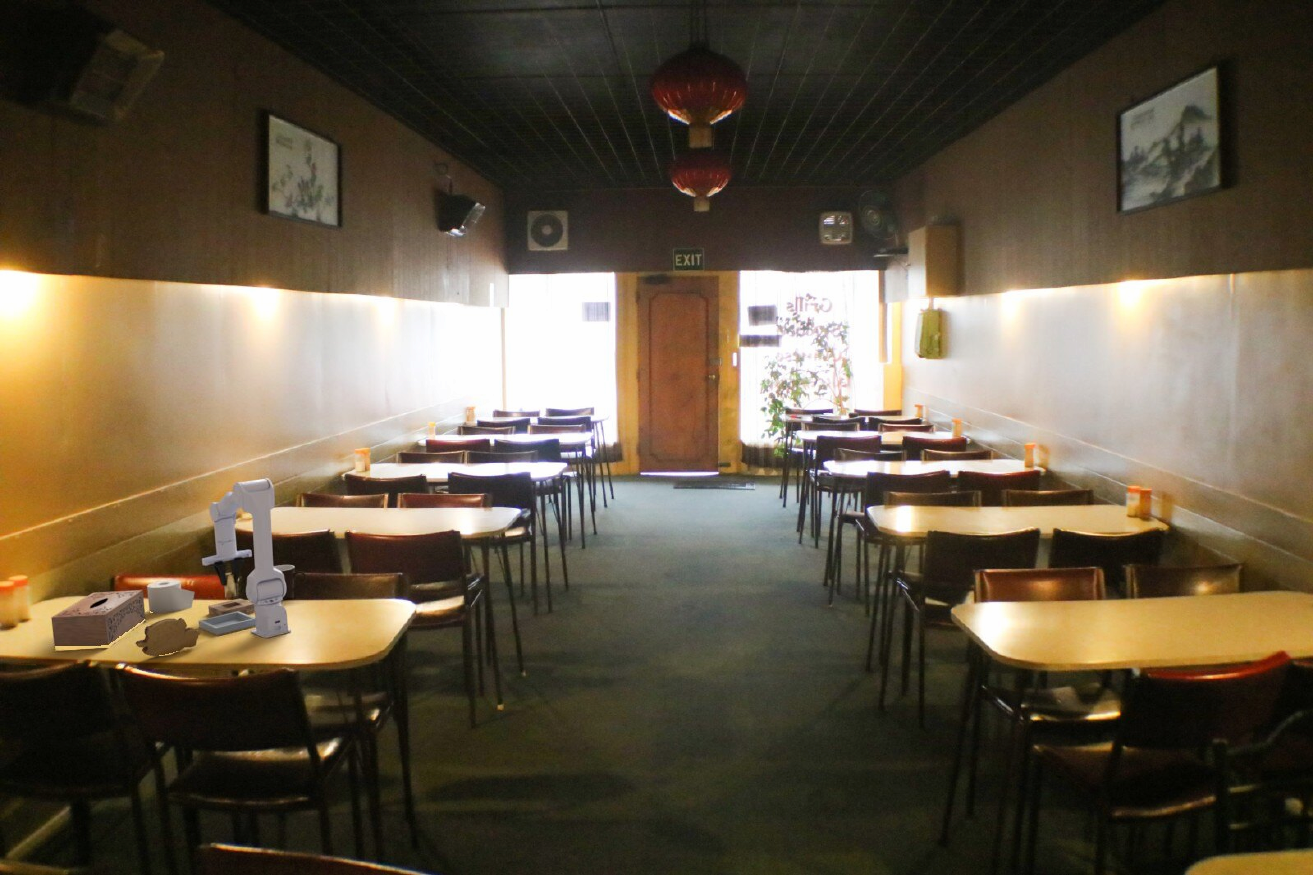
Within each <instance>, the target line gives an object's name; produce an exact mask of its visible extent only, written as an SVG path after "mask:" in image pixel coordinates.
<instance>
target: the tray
mask: <svg viewBox="0 0 1313 875" xmlns="http://www.w3.org/2000/svg"><path fill="white" fill-rule="evenodd" d="M252 627H256V622H255V616H252V615H249V614H244V613H242V612H239V611H237V612H233V613H229V614H225V615H220V616H216V617H215V616H213V617H208V618H204V619H200V620H198V628H199V629H201V630H203V631H205V632H208V633H210V634H213V635H214V636H219V637H221V636H225V635H230V634H229V633H231V634H233V632H235V633H237V632H241V631H246V630H250V629H249V628H252Z"/></svg>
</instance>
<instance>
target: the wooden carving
mask: <svg viewBox="0 0 1313 875" xmlns="http://www.w3.org/2000/svg"><path fill="white" fill-rule="evenodd" d="M200 634H201V632H200V630H199V629H196V628H193V627H188V624H187V623H186V621H185V619H184V618H182V617H180V618H178V619H176V618H165V619H160V620H158V621H155V622H154V623H152V624H150V625H146V627H145V628H144V635H145V638H144V639H141V640H137V641H136V642H135V645H136V647H138V648H142V649H141V652H142V653H143V654H145V655H147V656H152V657H157V656H159V655H165V654H169V653H173V652H176V651H179V652H180V651H182V650H183V649H185V648H193V647H195V646H197V641H198V638H199V636H200Z"/></svg>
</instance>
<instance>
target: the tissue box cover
mask: <svg viewBox="0 0 1313 875" xmlns="http://www.w3.org/2000/svg"><path fill="white" fill-rule="evenodd" d="M145 610H146V608H145V601H144V592H143V589H138V590H133V589H132V590H120V591H119V590H118V591H115V590H114V591H103V592H102V591H101V592H100V591H98V592H92V593H91V594H89V595H87V596H85V597H83V598H82V599H80V600H78V601H77V602H75V603H73V604H71V606H68V607H66V608H65V609H63V610H62V611H59V612H58V613H57V614H54V615H53V616H51V627H52V635H53V646H54V647H55V646H101V645H109V644H110V643H111V642H113V641H115V640H116V639H117V638H119V636H122V635H123V634H124V633H125V632H128V631H129V630H130V629H132V628H133V627H135V626H136V625H137V624H138V623H141V622H142V621H143V620H144V619H147V618H146V612H145Z"/></svg>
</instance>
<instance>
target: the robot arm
mask: <svg viewBox="0 0 1313 875" xmlns="http://www.w3.org/2000/svg"><path fill="white" fill-rule="evenodd" d="M224 494H225V495H224V496H222V497H221V498H220V500H219V501H217V502H214V501H212V502H211V503H210V504H209V508H208V510H209V516H210V518H211V520H212V521H213V526H214V527H213V528H214V537H215V538H214V539H215V551H216V554H215V555H211V556H208V557H203V558H201V563H202V566H209V565H211V566H212V568H213V569H214V571H215V572H216V574H217V576H218V579H219V582H220V585H221V586H223V587H224V586H226V573H227V572H226V571H227V565H226V564H225V562H227V561H229V564H230V570H231V573H234V579H235V584H238V583H239V578H240V574H241V573H240V572H241V569H242V567H243V565H244V563H245V561H244V559H245V558H251V557H252V556H253V555H254V569H253V570H252V571H251V572H250V573H249V575H248V576H247V578H246V587H245V596H246V598H247V600H248V602H251V603H252V604H254V610H255V612H254V618H255V622H256V626H255V629H251V630H250V633H252V634H254V635H256V636H259V637H262V638H264V639H268V638H271V637H275V636H279V635H283V634H287V633H291V632H292V629H290V628H289V626H288V625H289V624H288V613H287V609H286V607H284V606H283V604H282V602H281V601H284V600H283V597H284V596H285V594H286V583H285V580H284V574H283V573H282V572H281V571H280V570H278V569H276V568H274V567H273V566H274V556H273V536H272V534H273V533H272V518H271V516H272V514H271V510H272V509H273V508H275V507H276V506H275V505H276V504H275V501H276V499H275V498H276V497H275V487H274V484H273V483H272V480H270V478H268V477H265V478H261V479H253V480H247V481H237V482H235V483H234V484H233V485H232V491H226V492H225V493H224ZM240 509H241V510H242V512H244V513H247V514H250V515H251V520H252V522H251V523H252V536H253V537H252V538H253V554H252V550H251V549H244V550H237V537H236V527H235V525H236V524H237V513H238V511H239V510H240ZM243 558H244V559H243Z"/></svg>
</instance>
